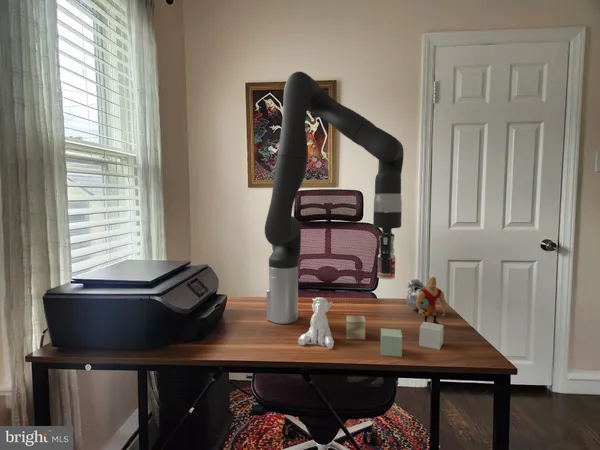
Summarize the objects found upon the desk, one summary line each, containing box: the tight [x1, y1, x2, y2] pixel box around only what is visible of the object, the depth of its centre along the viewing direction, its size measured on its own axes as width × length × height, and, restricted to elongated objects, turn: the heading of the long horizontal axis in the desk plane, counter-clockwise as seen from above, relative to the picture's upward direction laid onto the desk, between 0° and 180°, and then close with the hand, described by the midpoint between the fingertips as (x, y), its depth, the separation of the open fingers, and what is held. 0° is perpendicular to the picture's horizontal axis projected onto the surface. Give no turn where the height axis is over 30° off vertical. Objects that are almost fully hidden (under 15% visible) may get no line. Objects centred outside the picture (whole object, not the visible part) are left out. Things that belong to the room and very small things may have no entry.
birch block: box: [345, 315, 366, 341], centre depth 99 cm, size 5×5×5 cm
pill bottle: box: [376, 247, 396, 280], centre depth 98 cm, size 5×5×8 cm
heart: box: [405, 278, 429, 311], centre depth 120 cm, size 10×10×12 cm
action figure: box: [416, 276, 447, 325], centre depth 108 cm, size 10×4×15 cm, turn 97°
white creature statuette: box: [297, 296, 335, 350], centre depth 95 cm, size 10×9×12 cm
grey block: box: [418, 321, 445, 351], centre depth 93 cm, size 5×5×5 cm
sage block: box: [380, 327, 403, 358], centre depth 88 cm, size 5×5×5 cm
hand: (386, 271), depth 99 cm, fingers closed on pill bottle, 4 cm apart
